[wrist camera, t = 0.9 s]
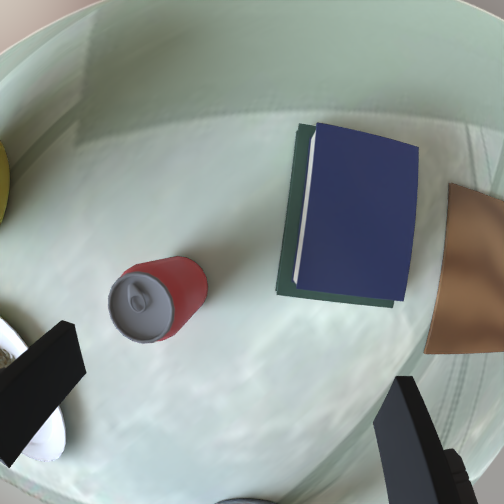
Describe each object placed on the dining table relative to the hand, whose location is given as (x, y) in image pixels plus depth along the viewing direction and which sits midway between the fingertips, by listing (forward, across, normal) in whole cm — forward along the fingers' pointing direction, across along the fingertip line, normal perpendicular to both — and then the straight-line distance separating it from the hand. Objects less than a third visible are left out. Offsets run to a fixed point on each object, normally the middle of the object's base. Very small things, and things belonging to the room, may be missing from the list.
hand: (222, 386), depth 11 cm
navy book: (+22, -8, -4) cm, 24 cm away
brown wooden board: (+24, -31, +2) cm, 40 cm away
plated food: (+13, +41, +29) cm, 52 cm away
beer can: (+21, +9, +6) cm, 24 cm away
